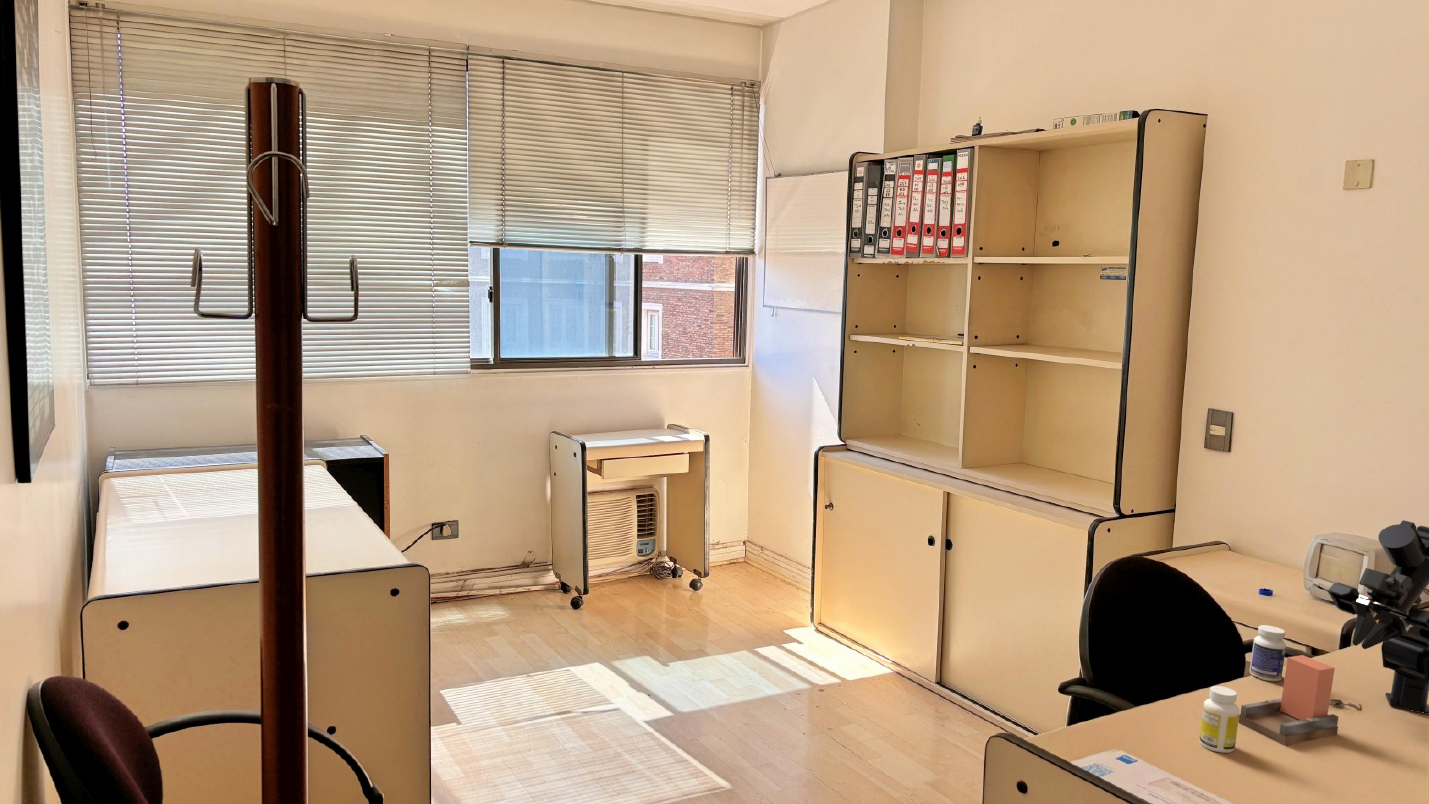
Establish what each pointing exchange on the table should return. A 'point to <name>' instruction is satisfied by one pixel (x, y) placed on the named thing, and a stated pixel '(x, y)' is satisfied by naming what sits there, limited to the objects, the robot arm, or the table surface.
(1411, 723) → the table surface
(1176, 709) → the table surface
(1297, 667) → the pink upright rectangular block
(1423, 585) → the robot arm
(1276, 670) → the pill bottle
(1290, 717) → the rail housing
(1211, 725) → the supplement bottle
